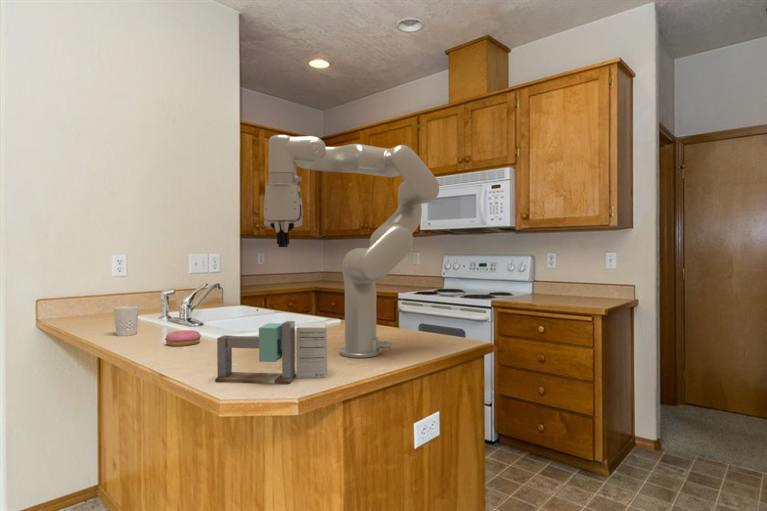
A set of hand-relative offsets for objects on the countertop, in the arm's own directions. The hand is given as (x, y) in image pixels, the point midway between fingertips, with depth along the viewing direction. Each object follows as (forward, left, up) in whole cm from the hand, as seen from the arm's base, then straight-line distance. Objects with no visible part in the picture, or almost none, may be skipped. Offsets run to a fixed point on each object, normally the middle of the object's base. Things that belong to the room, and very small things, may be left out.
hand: (283, 246), depth 131 cm
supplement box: (-11, +12, -32) cm, 36 cm away
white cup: (+70, -34, -32) cm, 84 cm away
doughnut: (+41, -21, -32) cm, 56 cm away
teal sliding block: (-3, +18, -24) cm, 30 cm away
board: (+1, +18, -32) cm, 37 cm away
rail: (+1, +18, -32) cm, 37 cm away
